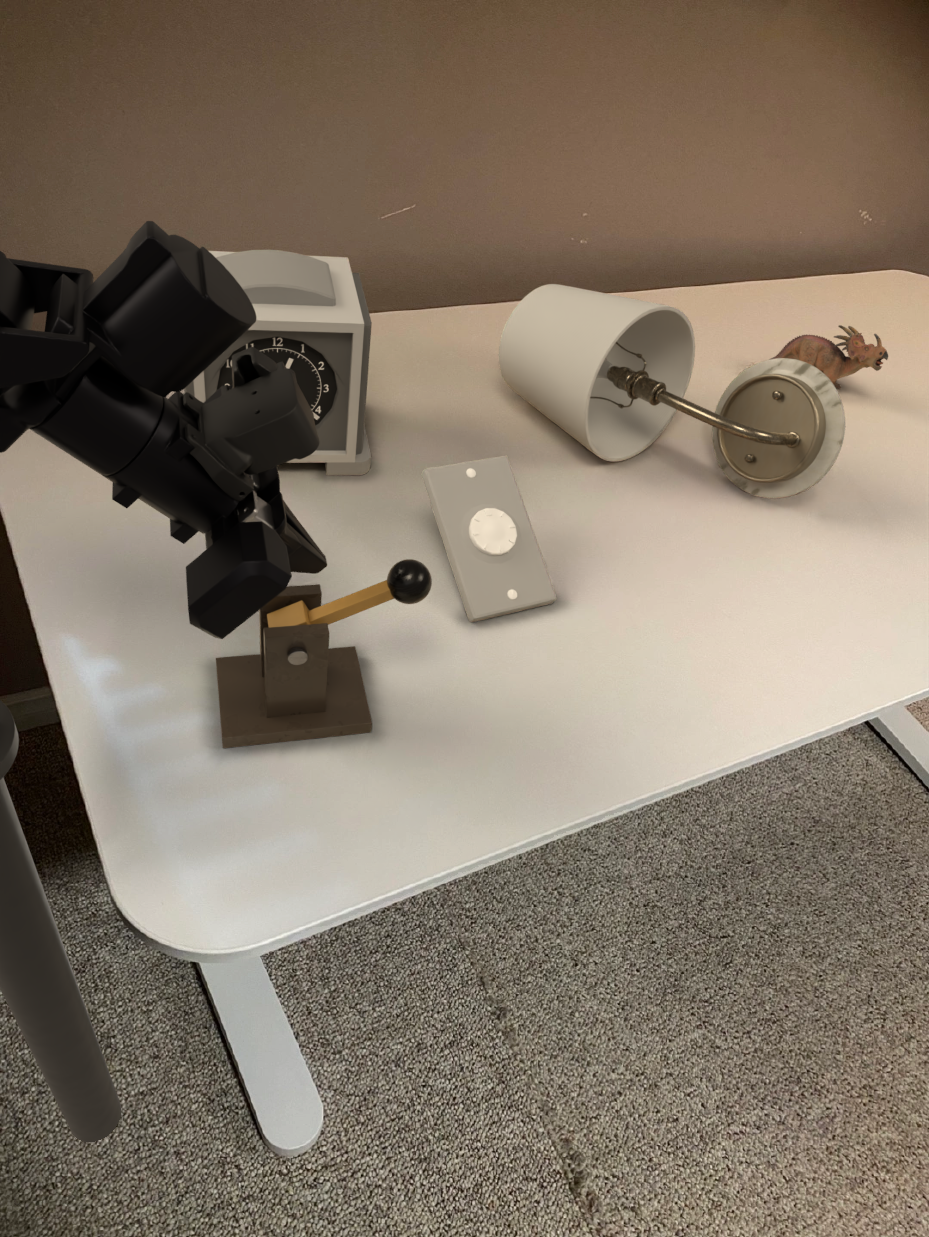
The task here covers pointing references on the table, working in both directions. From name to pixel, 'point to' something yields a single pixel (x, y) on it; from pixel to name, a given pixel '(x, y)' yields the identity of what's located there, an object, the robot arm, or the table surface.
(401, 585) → the lever
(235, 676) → the switch bracket
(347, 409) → the alarm clock
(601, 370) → the light fixture
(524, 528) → the light switch
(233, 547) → the robot arm
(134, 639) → the table surface
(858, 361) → the dinosaur figurine
